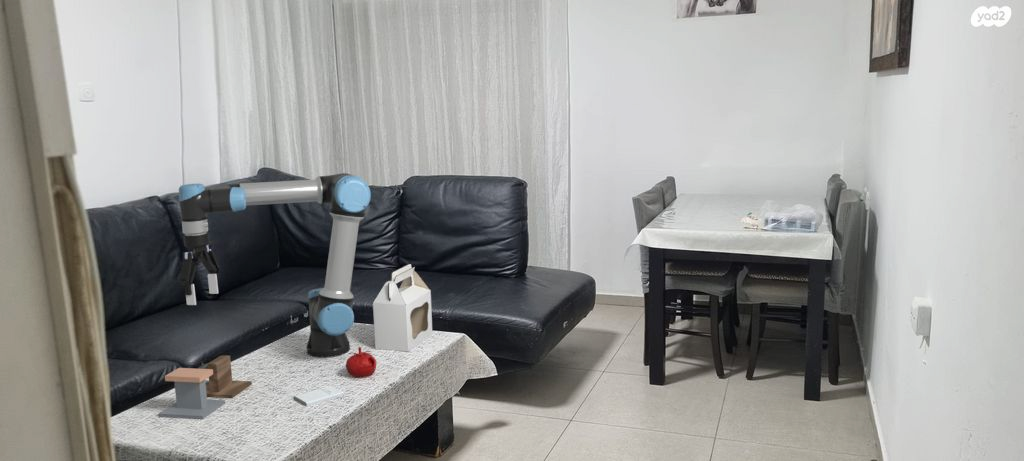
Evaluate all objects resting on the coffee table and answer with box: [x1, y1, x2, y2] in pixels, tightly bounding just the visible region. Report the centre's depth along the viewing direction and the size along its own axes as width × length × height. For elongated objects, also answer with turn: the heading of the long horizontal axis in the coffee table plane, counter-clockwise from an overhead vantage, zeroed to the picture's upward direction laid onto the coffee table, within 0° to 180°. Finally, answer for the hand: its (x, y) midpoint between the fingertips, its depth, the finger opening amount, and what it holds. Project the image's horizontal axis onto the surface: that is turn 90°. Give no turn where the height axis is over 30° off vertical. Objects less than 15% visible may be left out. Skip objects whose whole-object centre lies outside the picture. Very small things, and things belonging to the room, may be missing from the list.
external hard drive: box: [293, 385, 345, 407], centre depth 241 cm, size 2×8×12 cm
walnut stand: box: [205, 354, 253, 399], centre depth 248 cm, size 14×12×10 cm
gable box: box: [372, 263, 433, 353], centre depth 292 cm, size 22×13×28 cm, turn 163°
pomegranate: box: [345, 346, 377, 379], centre depth 259 cm, size 10×10×9 cm
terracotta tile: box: [164, 367, 213, 383], centre depth 231 cm, size 7×11×2 cm, turn 80°
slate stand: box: [157, 379, 226, 420], centre depth 232 cm, size 14×12×10 cm
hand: (203, 299), depth 252 cm, fingers open, 13 cm apart
